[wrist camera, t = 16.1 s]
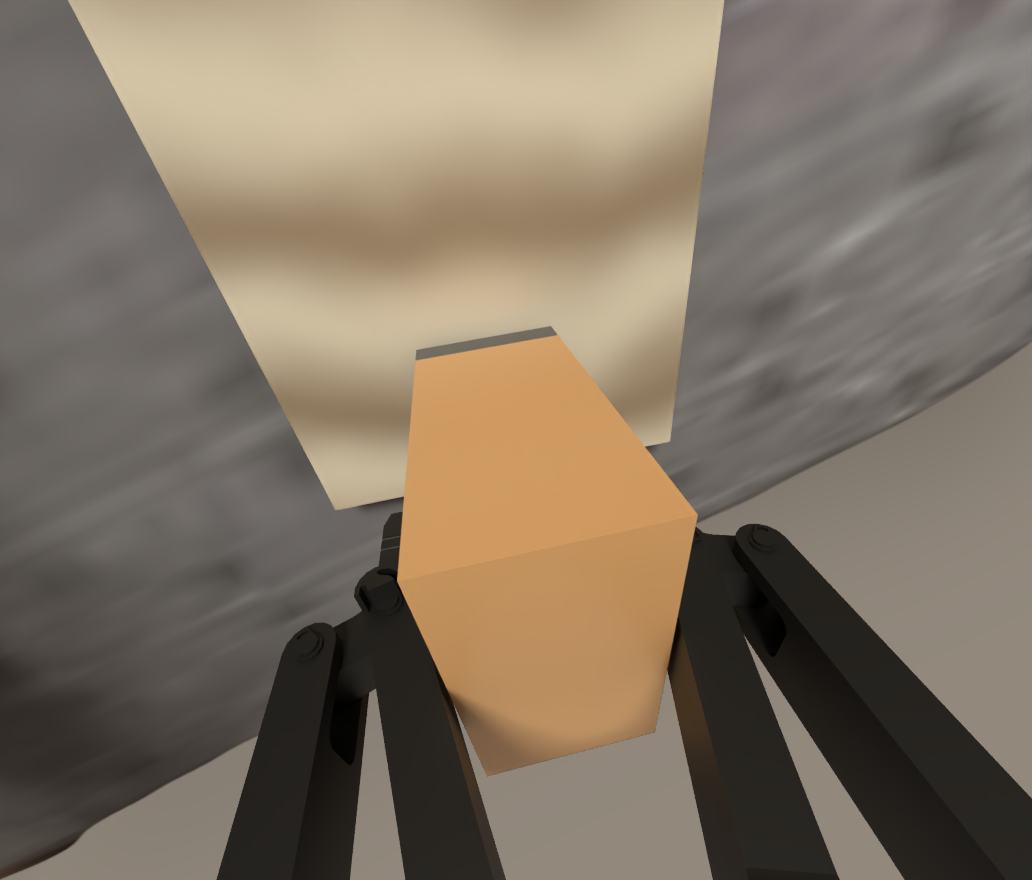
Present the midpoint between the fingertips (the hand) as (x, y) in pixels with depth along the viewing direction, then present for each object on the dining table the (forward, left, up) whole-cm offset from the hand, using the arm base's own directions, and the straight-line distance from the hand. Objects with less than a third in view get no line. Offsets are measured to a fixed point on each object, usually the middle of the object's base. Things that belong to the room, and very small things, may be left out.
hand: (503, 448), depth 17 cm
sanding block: (0, 0, -1) cm, 1 cm away
